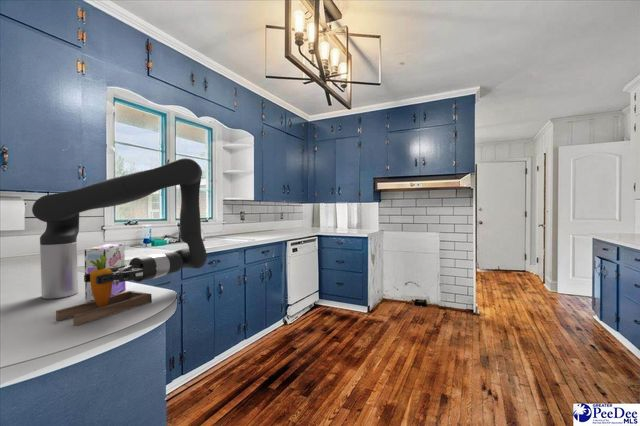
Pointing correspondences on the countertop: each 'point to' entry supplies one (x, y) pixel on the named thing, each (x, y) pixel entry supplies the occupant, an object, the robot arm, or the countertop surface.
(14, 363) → the countertop surface
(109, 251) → the candy box
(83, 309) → the guide channel
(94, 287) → the carrot
